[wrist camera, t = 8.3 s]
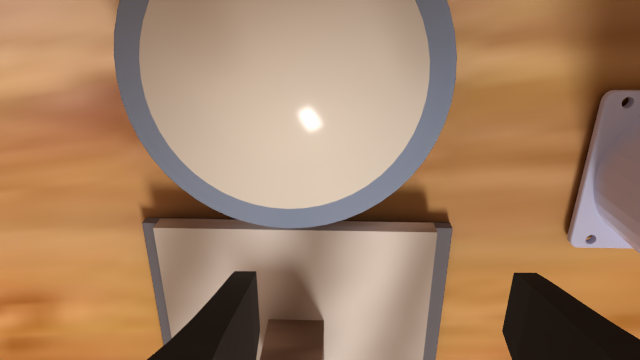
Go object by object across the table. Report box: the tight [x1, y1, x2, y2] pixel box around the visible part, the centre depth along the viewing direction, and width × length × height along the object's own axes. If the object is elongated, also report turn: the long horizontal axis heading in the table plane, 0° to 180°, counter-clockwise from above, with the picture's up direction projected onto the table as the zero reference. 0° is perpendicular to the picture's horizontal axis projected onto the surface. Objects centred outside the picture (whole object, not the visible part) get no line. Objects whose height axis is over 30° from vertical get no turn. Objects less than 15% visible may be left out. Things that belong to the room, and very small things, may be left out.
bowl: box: [114, 0, 457, 228], centre depth 19 cm, size 13×13×4 cm
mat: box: [142, 218, 452, 360], centre depth 26 cm, size 16×14×1 cm
